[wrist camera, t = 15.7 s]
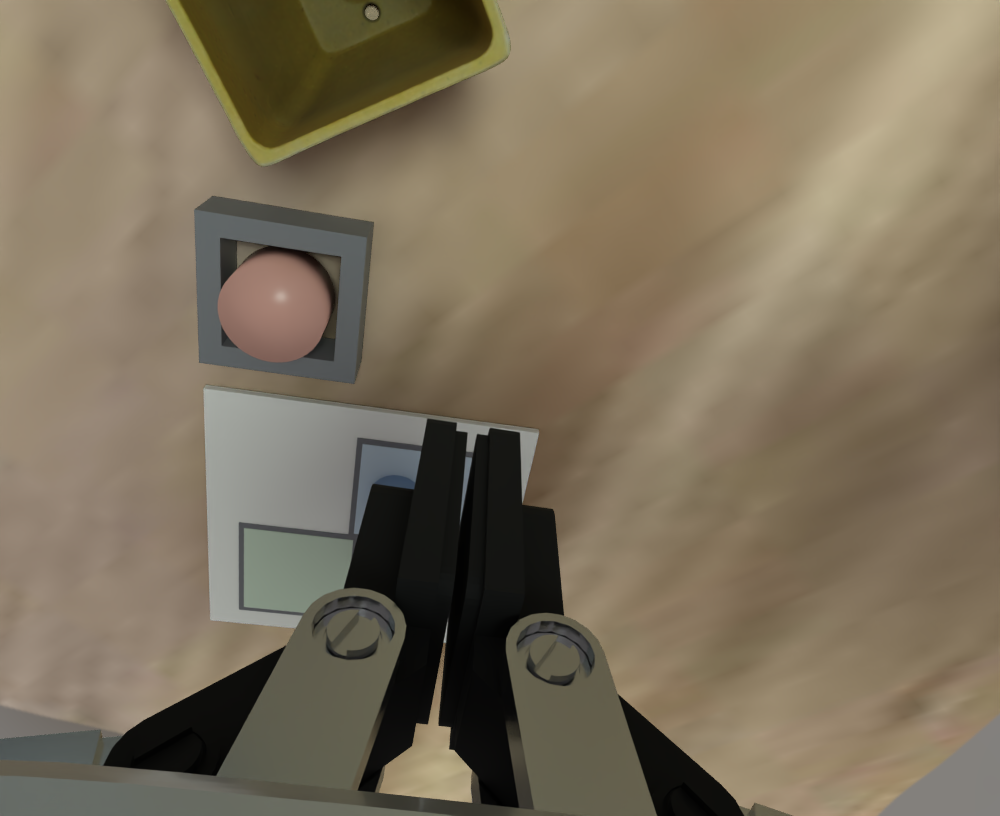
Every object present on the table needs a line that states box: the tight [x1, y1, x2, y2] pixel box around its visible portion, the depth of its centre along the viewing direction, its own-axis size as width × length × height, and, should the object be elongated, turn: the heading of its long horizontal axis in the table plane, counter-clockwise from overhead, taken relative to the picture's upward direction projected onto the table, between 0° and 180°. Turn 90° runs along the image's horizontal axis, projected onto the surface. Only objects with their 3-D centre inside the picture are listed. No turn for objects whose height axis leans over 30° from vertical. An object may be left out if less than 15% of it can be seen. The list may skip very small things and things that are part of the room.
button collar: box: [194, 196, 374, 384], centre depth 32 cm, size 7×7×2 cm
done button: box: [218, 246, 335, 363], centre depth 31 cm, size 4×4×3 cm
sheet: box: [204, 385, 539, 643], centre depth 40 cm, size 17×16×1 cm
